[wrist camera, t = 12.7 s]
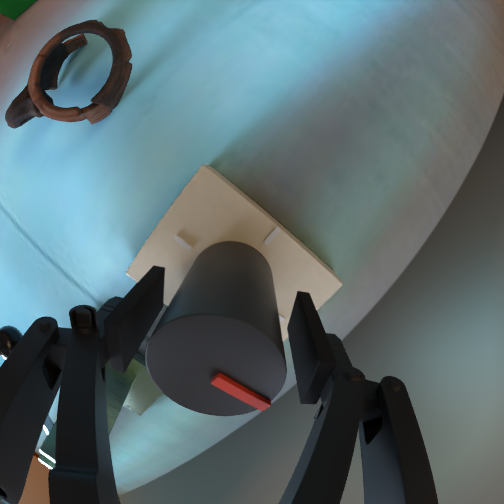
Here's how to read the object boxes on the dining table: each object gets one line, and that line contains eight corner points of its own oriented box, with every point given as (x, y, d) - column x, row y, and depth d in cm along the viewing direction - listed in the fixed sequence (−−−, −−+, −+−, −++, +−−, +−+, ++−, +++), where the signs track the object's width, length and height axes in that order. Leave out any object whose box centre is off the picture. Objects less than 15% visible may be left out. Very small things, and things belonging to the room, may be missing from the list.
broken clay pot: (110, 18, 15) (105, -11, 9) (149, 88, 21) (158, 84, 15) (10, 94, 14) (-28, 97, 8) (52, 160, 20) (27, 186, 14)
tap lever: (18, 336, 19) (-8, 340, 16) (20, 316, 18) (-9, 319, 15) (88, 465, 15) (61, 479, 11) (96, 458, 14) (64, 474, 10)
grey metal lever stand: (70, 358, 25) (10, 441, 11) (88, 314, 23) (3, 412, 9) (142, 409, 27) (108, 504, 13) (175, 375, 25) (136, 499, 11)
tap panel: (137, 262, 21) (124, 273, 19) (209, 164, 19) (202, 164, 17) (255, 348, 24) (255, 367, 21) (334, 271, 22) (344, 285, 19)
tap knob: (175, 283, 19) (122, 374, 10) (224, 223, 18) (193, 286, 8) (237, 329, 20) (227, 434, 11) (289, 276, 19) (318, 372, 10)
